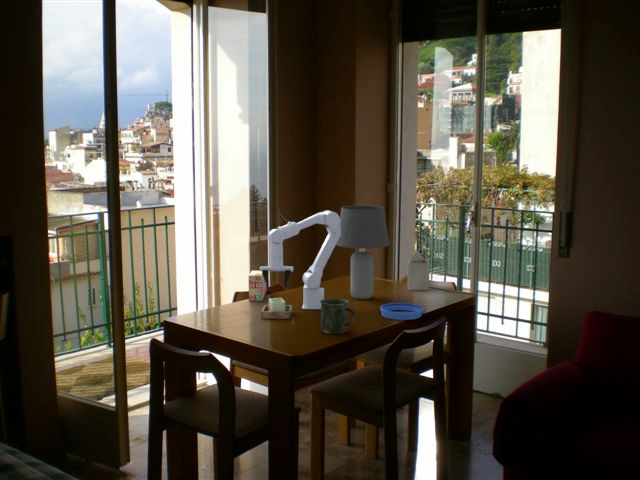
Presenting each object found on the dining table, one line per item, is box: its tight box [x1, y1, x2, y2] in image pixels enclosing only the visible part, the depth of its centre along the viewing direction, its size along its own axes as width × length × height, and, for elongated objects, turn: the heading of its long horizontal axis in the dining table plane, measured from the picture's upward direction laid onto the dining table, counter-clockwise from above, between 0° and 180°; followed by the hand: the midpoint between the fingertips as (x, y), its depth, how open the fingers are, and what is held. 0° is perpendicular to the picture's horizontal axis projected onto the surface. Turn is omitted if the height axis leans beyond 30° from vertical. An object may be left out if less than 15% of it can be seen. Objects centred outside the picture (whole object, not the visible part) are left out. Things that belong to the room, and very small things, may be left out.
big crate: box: [260, 304, 293, 320], centre depth 292 cm, size 12×12×3 cm
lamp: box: [335, 205, 390, 300], centre depth 324 cm, size 25×25×43 cm
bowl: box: [380, 302, 424, 321], centre depth 293 cm, size 18×18×4 cm
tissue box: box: [407, 249, 431, 291], centre depth 346 cm, size 16×8×19 cm, turn 143°
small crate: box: [268, 297, 286, 312], centre depth 292 cm, size 6×8×6 cm
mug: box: [320, 297, 356, 335], centre depth 266 cm, size 11×15×12 cm
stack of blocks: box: [248, 270, 267, 302], centre depth 329 cm, size 21×6×12 cm, turn 179°
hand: (276, 287), depth 301 cm, fingers open, 7 cm apart
